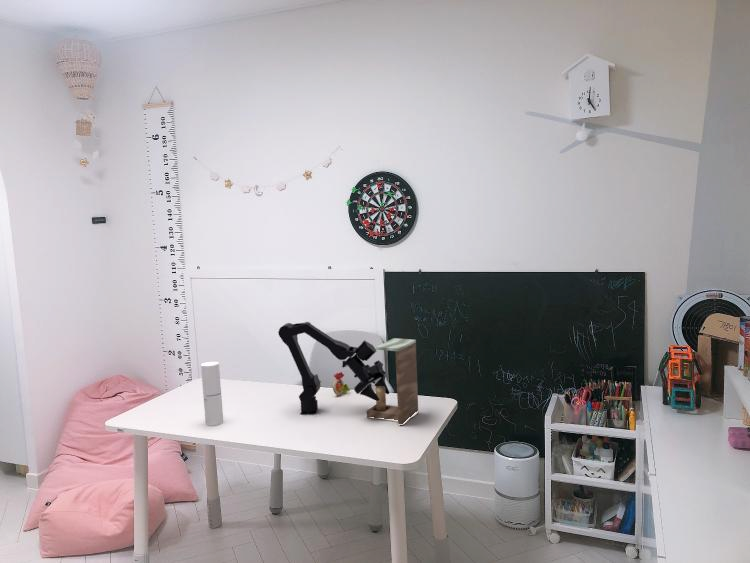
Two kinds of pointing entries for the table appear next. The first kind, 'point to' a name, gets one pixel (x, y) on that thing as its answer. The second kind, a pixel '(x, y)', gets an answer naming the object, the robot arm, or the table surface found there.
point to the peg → (381, 398)
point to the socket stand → (401, 381)
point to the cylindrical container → (212, 393)
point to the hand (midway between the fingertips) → (383, 397)
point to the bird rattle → (339, 387)
